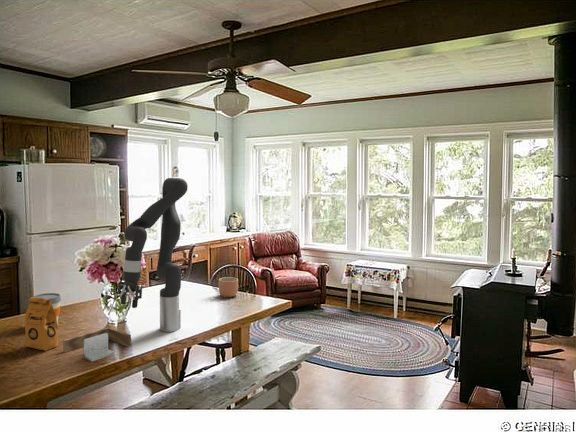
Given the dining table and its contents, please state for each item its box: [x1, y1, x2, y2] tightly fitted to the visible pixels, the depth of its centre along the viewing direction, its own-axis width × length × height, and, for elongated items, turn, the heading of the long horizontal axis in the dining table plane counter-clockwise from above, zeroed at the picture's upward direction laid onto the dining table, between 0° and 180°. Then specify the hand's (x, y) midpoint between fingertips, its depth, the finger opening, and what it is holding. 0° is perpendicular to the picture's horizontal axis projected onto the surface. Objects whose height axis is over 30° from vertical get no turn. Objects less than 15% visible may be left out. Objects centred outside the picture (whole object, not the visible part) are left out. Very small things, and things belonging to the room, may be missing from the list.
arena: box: [62, 326, 132, 353], centre depth 195 cm, size 22×16×5 cm
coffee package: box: [24, 296, 59, 352], centre depth 195 cm, size 10×12×22 cm
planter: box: [218, 276, 239, 298], centre depth 285 cm, size 12×12×11 cm
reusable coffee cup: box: [33, 292, 62, 325], centre depth 223 cm, size 13×13×15 cm
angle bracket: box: [83, 333, 115, 363], centre depth 187 cm, size 10×6×8 cm, turn 144°
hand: (128, 306), depth 201 cm, fingers open, 8 cm apart
